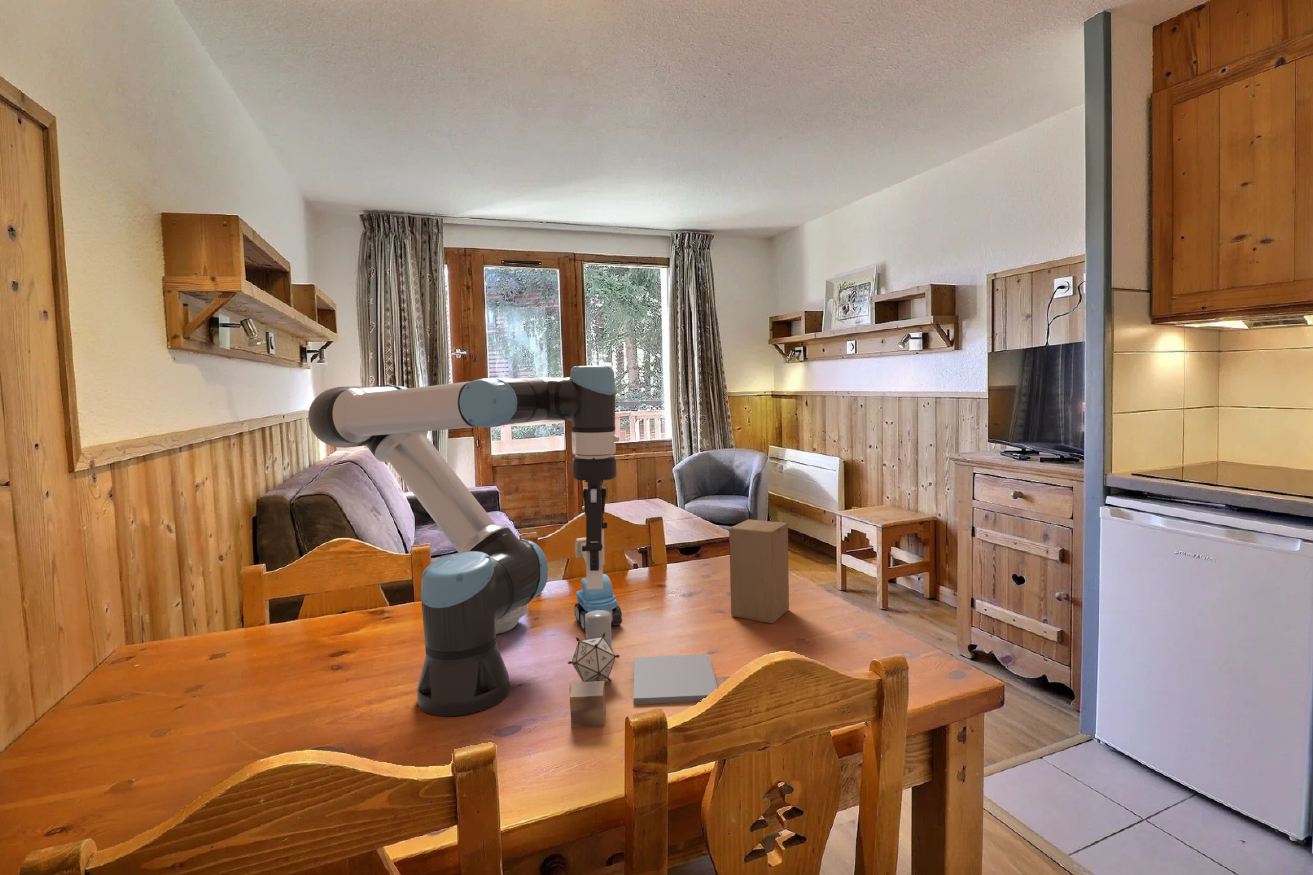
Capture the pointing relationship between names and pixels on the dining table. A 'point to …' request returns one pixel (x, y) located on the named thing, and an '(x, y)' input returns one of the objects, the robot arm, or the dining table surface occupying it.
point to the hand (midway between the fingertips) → (596, 575)
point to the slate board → (673, 678)
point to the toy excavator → (595, 595)
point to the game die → (593, 659)
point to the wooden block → (759, 570)
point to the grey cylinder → (598, 625)
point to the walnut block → (587, 704)
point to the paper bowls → (510, 619)
